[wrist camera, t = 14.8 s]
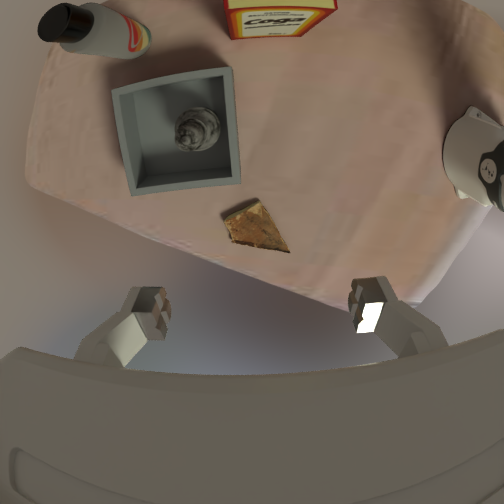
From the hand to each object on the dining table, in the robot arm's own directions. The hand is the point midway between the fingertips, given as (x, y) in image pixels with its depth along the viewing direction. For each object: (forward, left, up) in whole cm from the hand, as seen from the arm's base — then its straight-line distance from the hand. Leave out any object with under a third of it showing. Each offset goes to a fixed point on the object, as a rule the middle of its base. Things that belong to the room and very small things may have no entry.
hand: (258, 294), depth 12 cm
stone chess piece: (+6, -3, -30) cm, 30 cm away
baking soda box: (-4, -19, -31) cm, 36 cm away
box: (+9, -4, -31) cm, 32 cm away
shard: (-2, +13, -31) cm, 34 cm away
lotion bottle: (+15, -18, -31) cm, 39 cm away
